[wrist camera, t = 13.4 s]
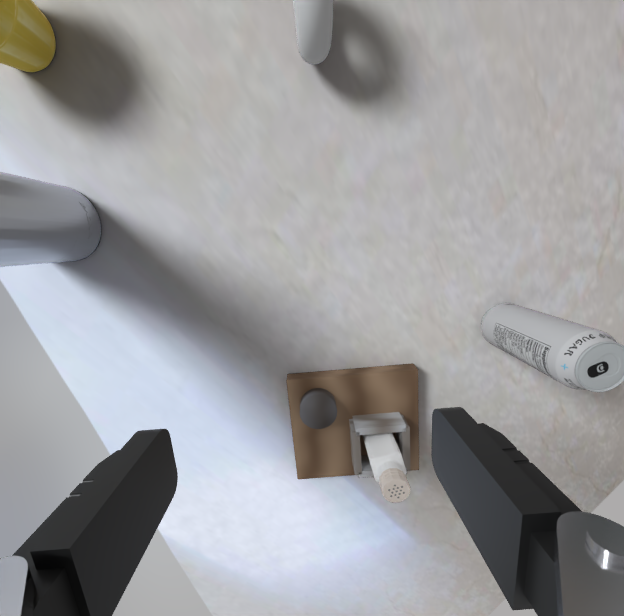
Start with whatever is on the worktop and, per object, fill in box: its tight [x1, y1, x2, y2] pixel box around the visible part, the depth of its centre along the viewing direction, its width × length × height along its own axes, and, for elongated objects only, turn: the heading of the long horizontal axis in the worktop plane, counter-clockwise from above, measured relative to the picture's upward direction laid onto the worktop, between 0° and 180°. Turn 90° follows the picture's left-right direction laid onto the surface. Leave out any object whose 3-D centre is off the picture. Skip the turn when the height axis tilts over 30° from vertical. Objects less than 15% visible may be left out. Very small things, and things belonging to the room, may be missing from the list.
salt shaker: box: [363, 433, 410, 503], centre depth 38 cm, size 4×4×10 cm
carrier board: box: [286, 364, 419, 479], centre depth 42 cm, size 18×16×5 cm
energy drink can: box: [481, 303, 624, 392], centre depth 34 cm, size 6×6×15 cm
